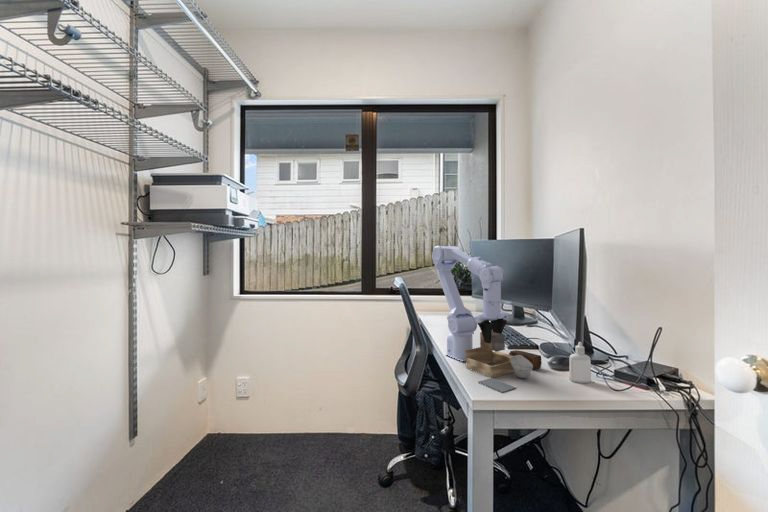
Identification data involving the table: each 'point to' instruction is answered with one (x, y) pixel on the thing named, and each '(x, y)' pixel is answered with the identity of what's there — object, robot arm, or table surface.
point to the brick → (529, 358)
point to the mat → (497, 385)
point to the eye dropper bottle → (580, 366)
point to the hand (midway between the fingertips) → (492, 341)
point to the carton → (481, 356)
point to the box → (493, 342)
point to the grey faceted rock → (521, 366)
